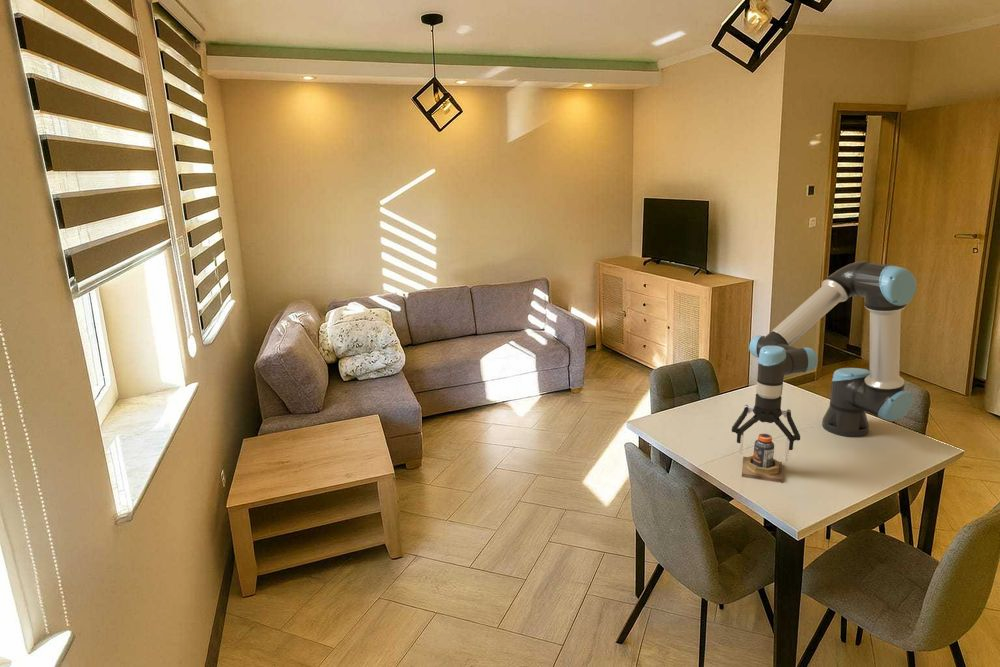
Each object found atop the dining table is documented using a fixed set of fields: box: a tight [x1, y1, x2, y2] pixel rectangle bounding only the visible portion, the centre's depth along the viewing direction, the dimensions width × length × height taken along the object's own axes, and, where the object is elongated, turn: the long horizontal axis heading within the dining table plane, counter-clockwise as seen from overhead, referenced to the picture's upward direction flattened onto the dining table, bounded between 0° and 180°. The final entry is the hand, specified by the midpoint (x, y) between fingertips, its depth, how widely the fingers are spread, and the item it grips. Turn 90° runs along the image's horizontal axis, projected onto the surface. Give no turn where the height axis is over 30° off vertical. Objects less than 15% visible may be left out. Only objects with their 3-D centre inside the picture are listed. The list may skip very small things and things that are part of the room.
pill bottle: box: [752, 433, 775, 468], centre depth 197 cm, size 6×6×11 cm
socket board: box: [741, 455, 784, 484], centre depth 199 cm, size 12×12×3 cm
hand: (763, 455), depth 198 cm, fingers open, 13 cm apart
